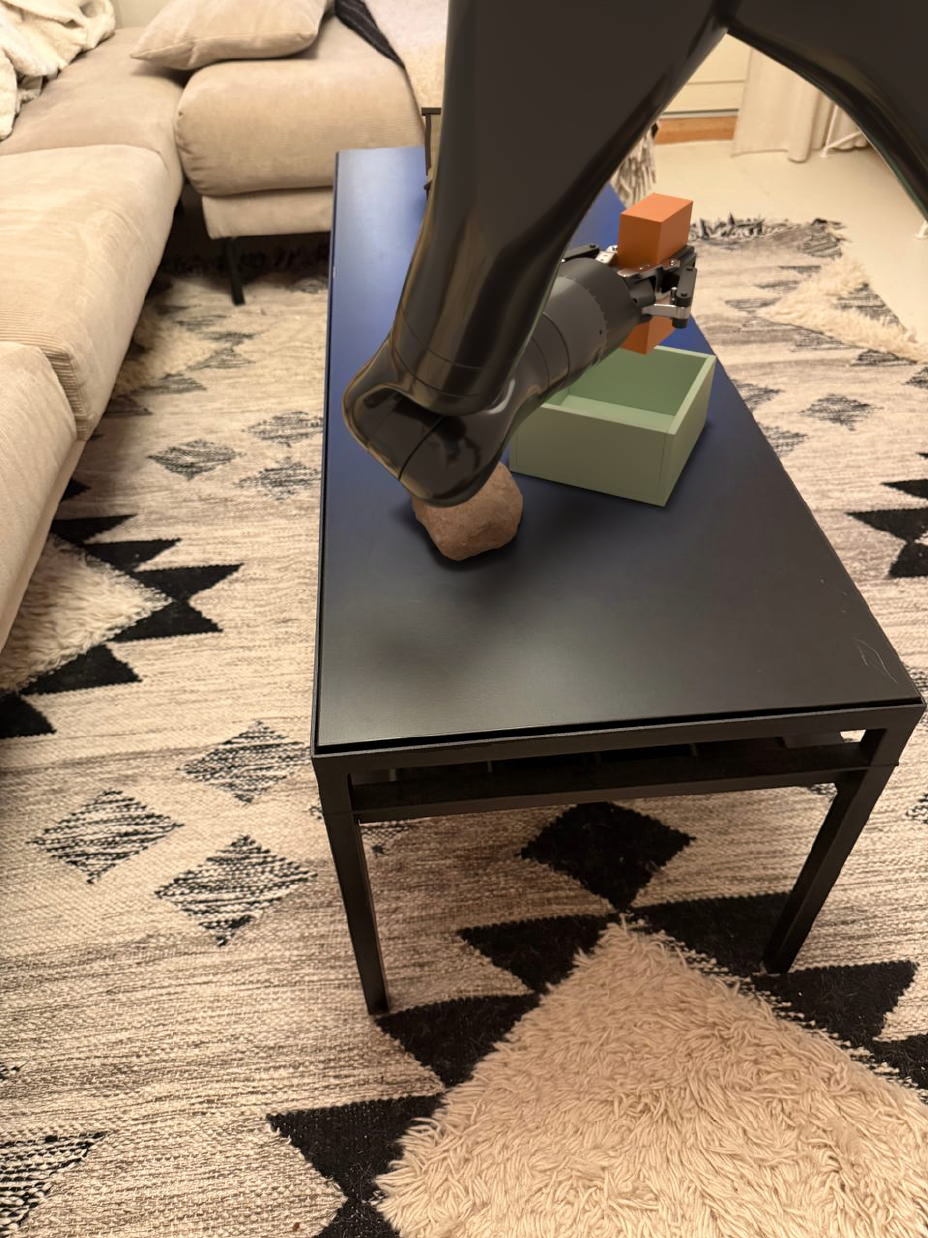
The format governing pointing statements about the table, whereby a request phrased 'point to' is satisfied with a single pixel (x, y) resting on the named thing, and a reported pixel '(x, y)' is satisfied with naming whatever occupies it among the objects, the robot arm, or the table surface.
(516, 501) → the stone
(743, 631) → the table surface
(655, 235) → the block
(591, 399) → the bin
